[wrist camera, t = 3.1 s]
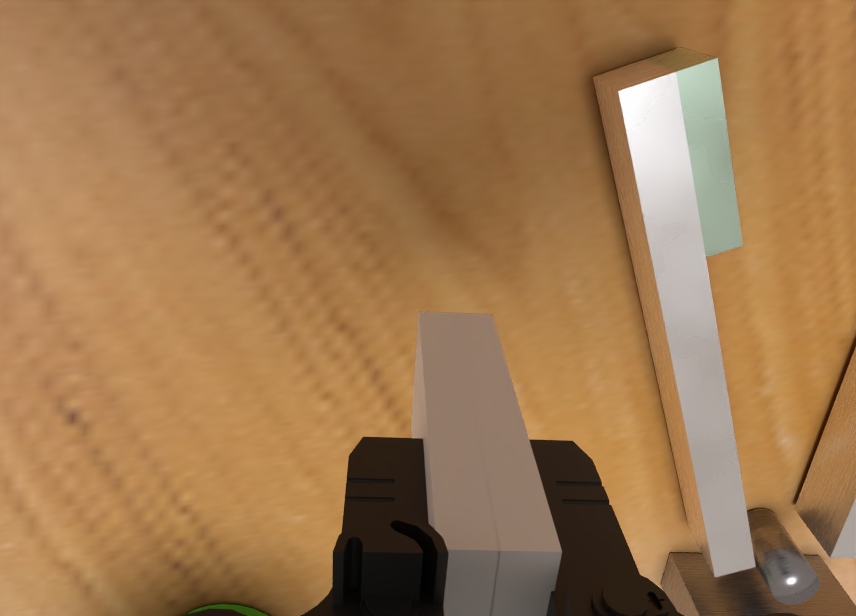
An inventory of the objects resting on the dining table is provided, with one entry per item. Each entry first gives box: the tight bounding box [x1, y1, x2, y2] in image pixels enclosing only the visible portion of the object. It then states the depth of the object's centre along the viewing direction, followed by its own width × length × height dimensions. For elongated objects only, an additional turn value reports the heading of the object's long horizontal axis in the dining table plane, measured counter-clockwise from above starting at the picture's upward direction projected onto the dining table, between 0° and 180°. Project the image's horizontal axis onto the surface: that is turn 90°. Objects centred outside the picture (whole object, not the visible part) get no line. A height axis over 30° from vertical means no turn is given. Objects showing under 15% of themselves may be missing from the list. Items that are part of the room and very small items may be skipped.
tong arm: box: [593, 47, 756, 577], centre depth 21 cm, size 17×2×2 cm, turn 18°
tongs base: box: [661, 347, 856, 616], centre depth 22 cm, size 21×6×3 cm, turn 176°
